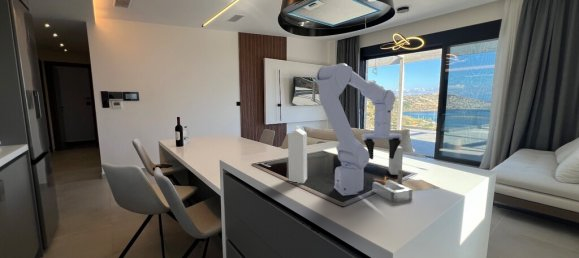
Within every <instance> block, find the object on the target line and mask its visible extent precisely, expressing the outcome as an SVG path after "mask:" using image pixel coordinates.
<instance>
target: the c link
mask: <svg viewBox="0 0 579 258" xmlns="http://www.w3.org/2000/svg"><path fill="white" fill-rule="evenodd" d="M396 182H397V181H393V180H391V179H387V180H386V181H385V185H384V184H382V183H380V182H377V181H373V182H372V190H371V191H372V192H374V193H376V194H377V195H379V196H381V197H383V198H385V199H386V200H389V201H390V202H392V203H398V202H399V203H400V202H404V201H410V200H413V192H414V191H413V190H412V189H410V188H408V187H405V186H403V185H401V184H398V183H396Z"/></svg>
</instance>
